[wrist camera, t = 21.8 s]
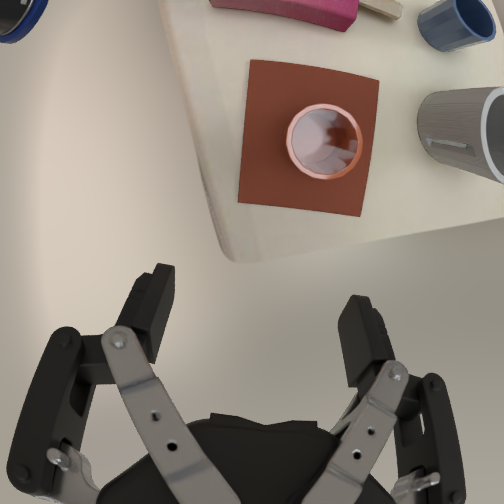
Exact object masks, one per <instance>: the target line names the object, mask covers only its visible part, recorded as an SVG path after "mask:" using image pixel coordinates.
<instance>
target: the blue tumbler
mask: <svg viewBox="0 0 504 504" xmlns="http://www.w3.org/2000/svg"><path fill="white" fill-rule="evenodd" d="M418 27H419V30H420V32H421V34H422V36H423V37H424V39H425V40H426V41H427V42H428V43H429V44H430V45H431V46H432V47H434V48H435V49H437V50H439V51H442V52H450V51H455V50H459V49H462V48H466V47H469V46H473V45H477V44H481V43H485V42H489V41H491V40H492V39H494V37H495V34H496V26H495V22H494V19H493V17H492V15H491V13H490V11H489V10H488V8H487V7H486V6H485V4H484V3H483V2H482V1H481V0H440V1H438V2H436V3H435V4H433V5H432V6H430V7H428V8H427V9H425V10H423V11H422V12H421V13H420V14H419V16H418Z"/></svg>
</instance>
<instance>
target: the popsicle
mask: <svg viewBox="0 0 504 504" xmlns="http://www.w3.org/2000/svg"><path fill="white" fill-rule="evenodd" d="M209 1H210V3H211V5H212V6H213V7H225V8H235V9H244V10H251V11H258V12H264V13H270V14H276V15H281V16H286V17H290V18H295V19H299V20H304V21H308V22H312V23H315V24H319V25H323V26H326V27H330V28H333V29H336V30H339V31H343V32H345V31H346V30H347V29H348V28H349V27H350V26H351V24H352V23H353V22H354V21H355V19H356V16H357V11H358V5H361V6H364V7H366V8H369V9H372V10H374V11H377V12H379V13H382V14H384V15H386V16H389V17H391V18H393V19H396V20H397V19H399V18H400V17H401V15H402V5H401V4H400V3H398V2H395V1H393V0H209Z"/></svg>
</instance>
